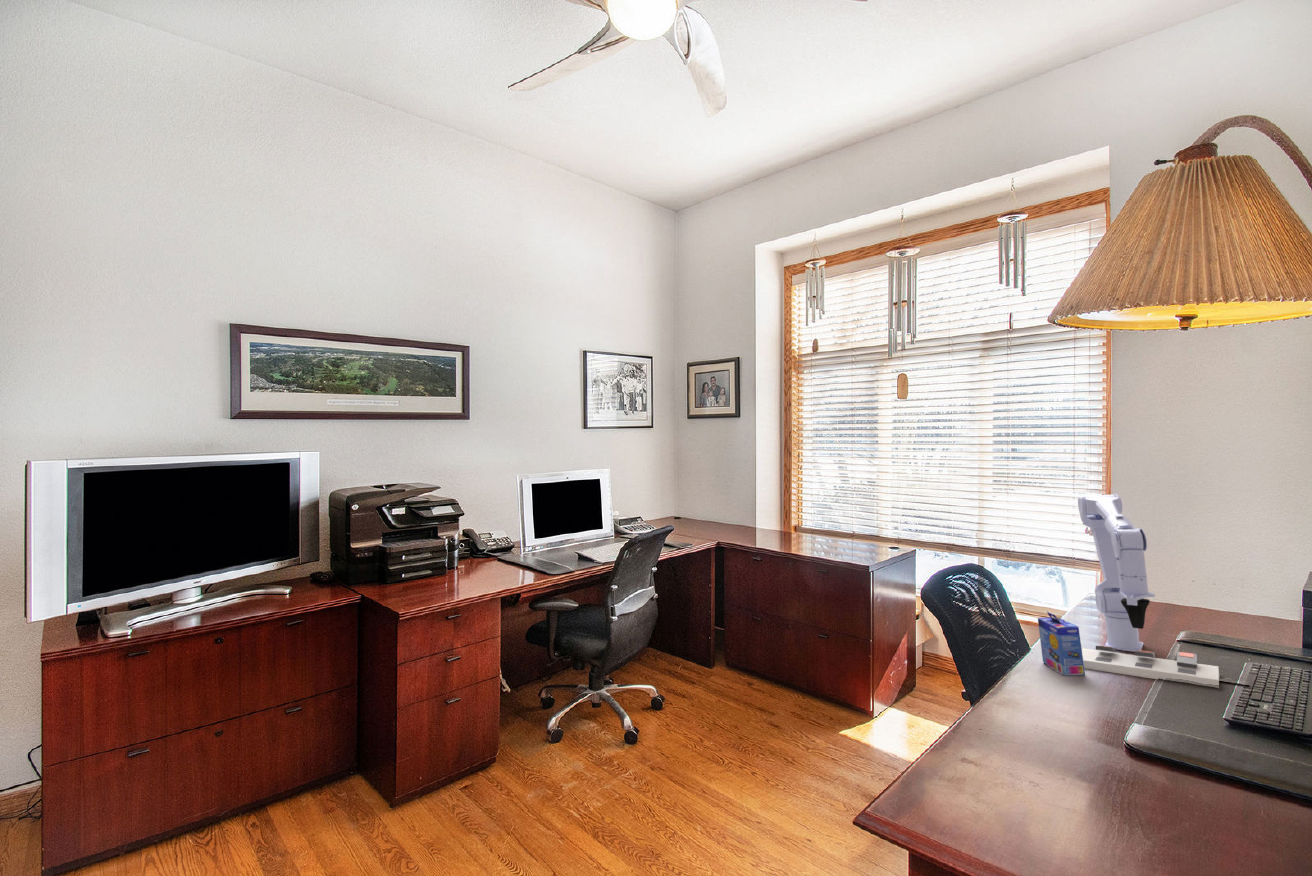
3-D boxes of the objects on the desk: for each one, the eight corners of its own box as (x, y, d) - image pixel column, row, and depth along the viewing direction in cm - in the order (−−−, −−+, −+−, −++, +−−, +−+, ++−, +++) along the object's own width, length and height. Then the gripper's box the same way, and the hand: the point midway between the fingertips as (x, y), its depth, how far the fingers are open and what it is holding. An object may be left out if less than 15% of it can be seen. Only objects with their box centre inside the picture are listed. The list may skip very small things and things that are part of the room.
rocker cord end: (1177, 655, 146) (1176, 651, 146) (1196, 657, 144) (1196, 653, 144) (1177, 665, 143) (1176, 661, 143) (1197, 668, 140) (1196, 664, 140)
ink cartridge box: (1041, 663, 157) (1035, 608, 157) (1062, 662, 156) (1057, 608, 157) (1062, 676, 147) (1056, 618, 148) (1086, 675, 146) (1079, 617, 147)
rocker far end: (1099, 649, 157) (1098, 645, 158) (1115, 651, 155) (1115, 647, 155) (1095, 649, 154) (1095, 645, 154) (1113, 651, 151) (1112, 647, 152)
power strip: (1083, 655, 160) (1082, 647, 160) (1248, 678, 138) (1247, 669, 138) (1076, 667, 152) (1075, 658, 152) (1250, 693, 130) (1249, 684, 130)
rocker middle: (1137, 654, 152) (1136, 649, 152) (1155, 656, 149) (1154, 652, 150) (1134, 655, 148) (1134, 650, 149) (1153, 657, 146) (1152, 653, 146)
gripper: (1150, 581, 144) (1156, 636, 144) (1154, 571, 155) (1160, 623, 154) (1114, 579, 149) (1120, 632, 149) (1120, 569, 160) (1126, 619, 159)
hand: (1138, 627), depth 152 cm, fingers closed
